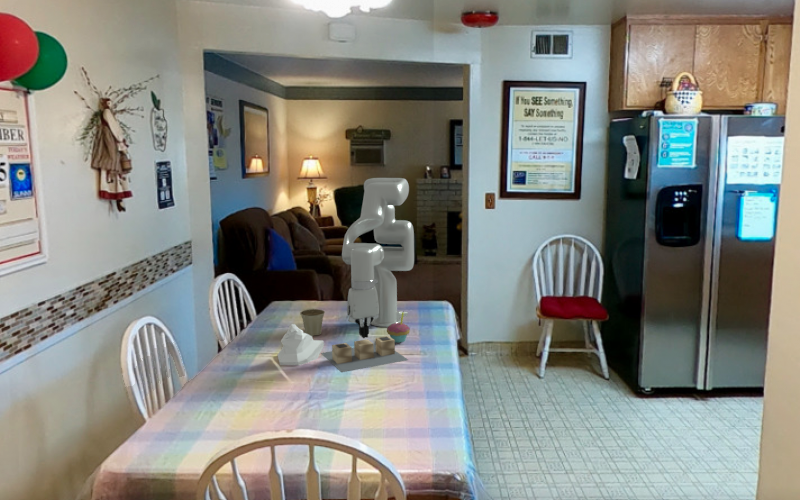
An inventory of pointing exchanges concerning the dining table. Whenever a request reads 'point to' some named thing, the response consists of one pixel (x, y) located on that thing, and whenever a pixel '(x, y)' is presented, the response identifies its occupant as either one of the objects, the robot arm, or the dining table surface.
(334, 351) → the digit block
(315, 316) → the flower pot
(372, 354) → the plain block
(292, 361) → the white faceted lump
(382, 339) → the digit block
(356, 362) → the mat
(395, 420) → the dining table surface
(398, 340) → the cupcake
